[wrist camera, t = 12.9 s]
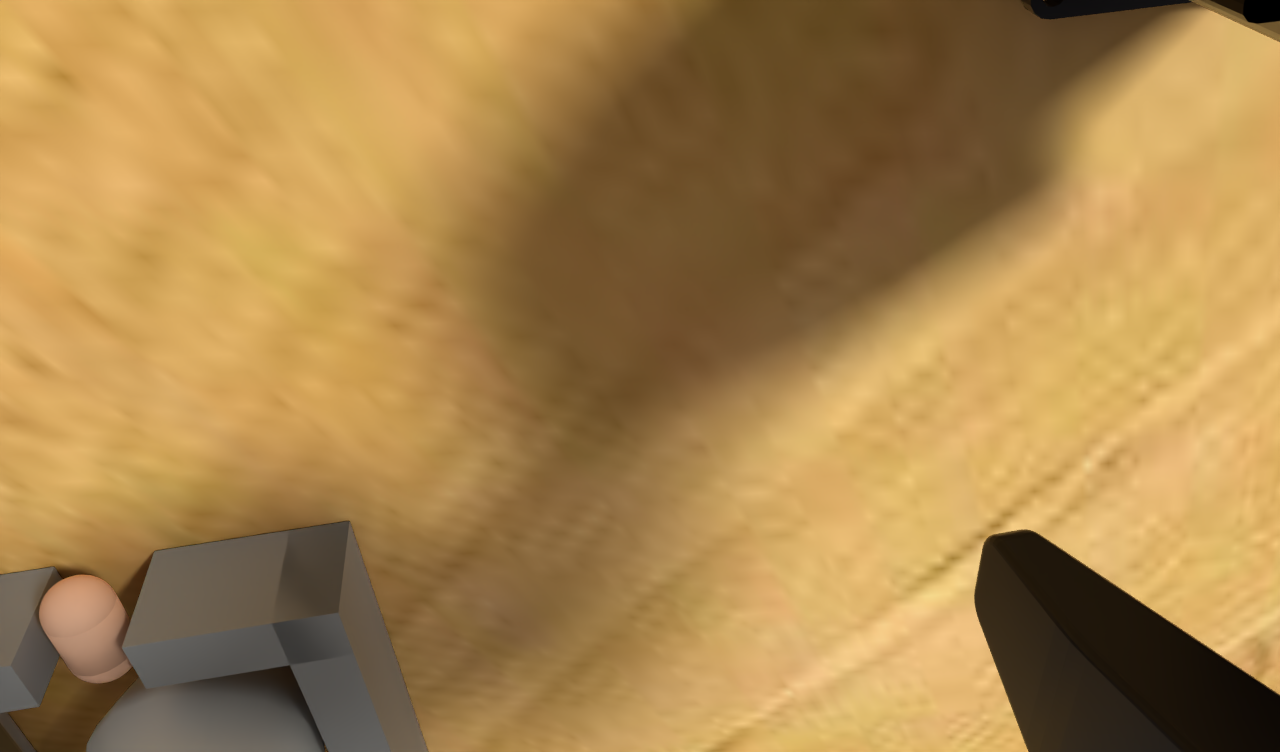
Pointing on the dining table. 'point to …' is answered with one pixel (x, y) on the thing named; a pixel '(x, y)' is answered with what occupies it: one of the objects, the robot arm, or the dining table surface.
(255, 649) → the grey square frame
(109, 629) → the plunger
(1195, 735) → the robot arm
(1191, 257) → the dining table surface
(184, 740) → the salt shaker
